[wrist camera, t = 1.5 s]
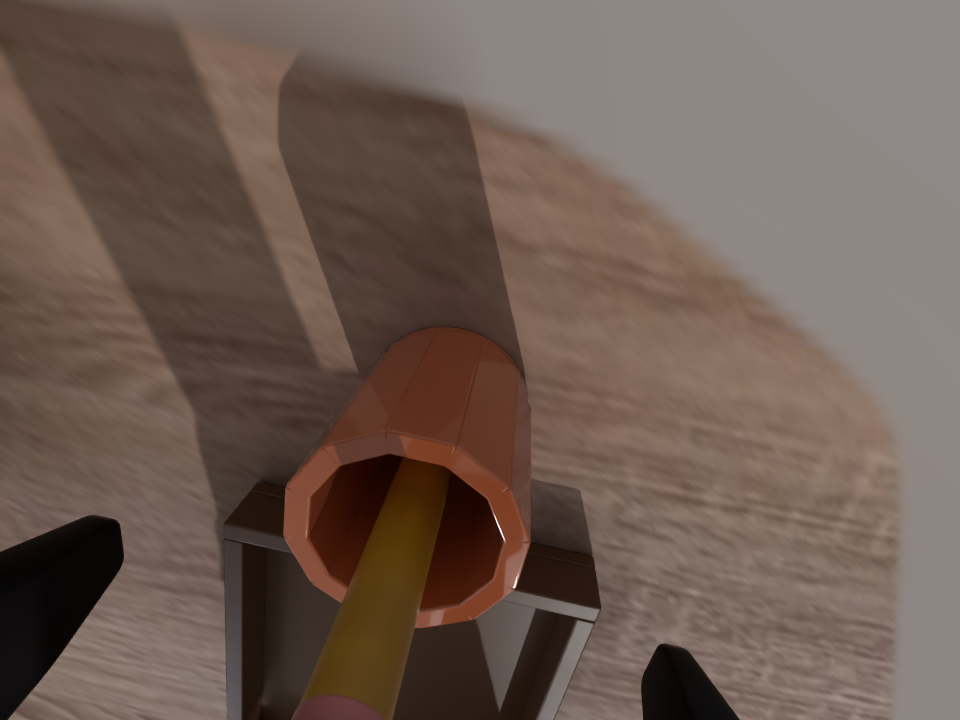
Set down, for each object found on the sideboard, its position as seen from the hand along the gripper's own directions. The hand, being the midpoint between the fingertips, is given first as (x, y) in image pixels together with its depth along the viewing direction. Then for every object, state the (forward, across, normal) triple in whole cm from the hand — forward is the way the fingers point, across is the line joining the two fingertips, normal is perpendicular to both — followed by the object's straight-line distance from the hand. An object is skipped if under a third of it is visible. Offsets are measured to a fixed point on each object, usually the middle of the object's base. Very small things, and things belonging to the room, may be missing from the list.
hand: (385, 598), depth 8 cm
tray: (+7, 0, +11) cm, 13 cm away
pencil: (+6, 0, 0) cm, 6 cm away
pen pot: (+7, 0, 0) cm, 7 cm away
